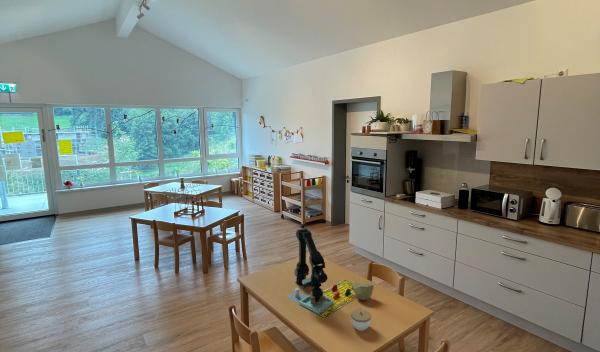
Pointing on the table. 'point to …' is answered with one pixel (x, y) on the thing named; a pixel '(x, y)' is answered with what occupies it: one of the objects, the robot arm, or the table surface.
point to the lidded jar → (360, 319)
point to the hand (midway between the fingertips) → (316, 298)
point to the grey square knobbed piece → (296, 295)
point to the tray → (316, 307)
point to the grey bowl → (362, 290)
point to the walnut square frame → (313, 301)
